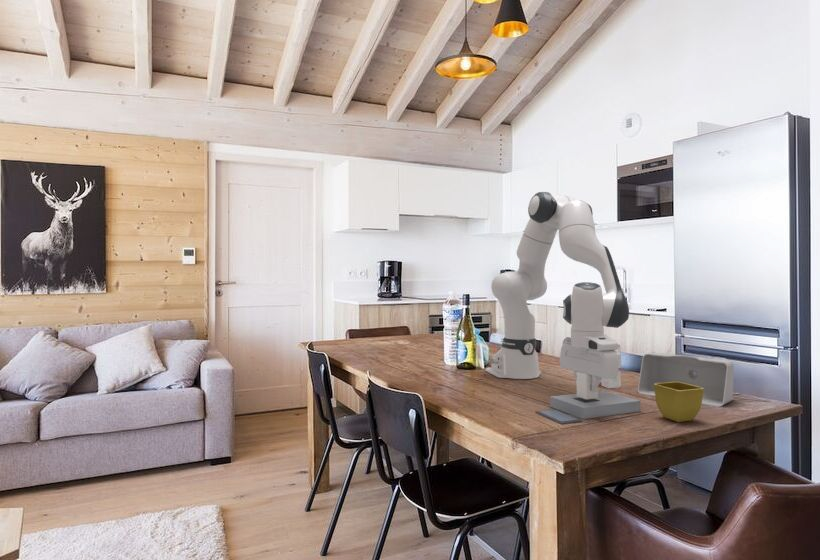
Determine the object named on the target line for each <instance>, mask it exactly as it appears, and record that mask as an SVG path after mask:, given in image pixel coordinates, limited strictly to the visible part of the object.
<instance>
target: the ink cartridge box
mask: <svg viewBox="0 0 820 560" xmlns="http://www.w3.org/2000/svg"><path fill="white" fill-rule="evenodd" d="M615 351H616V352H617V354H618V363H619V371H618V375H617V377H616V378H613V379H605V378H602V380H601V382H600V383H599V385H598V386H601V387H604V388H606V389H620V388H622V384H621V382H622V381H621V380H622V379H621V377H622V374H621V373H622V353H621V344H619V343H618V349H617V350H615Z"/></svg>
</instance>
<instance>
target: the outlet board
mask: <svg viewBox="0 0 820 560" xmlns="http://www.w3.org/2000/svg"><path fill="white" fill-rule="evenodd" d="M549 401H550V403H549V405H550V408H551V409H552V408H553V409H556V410H558V411H561V412H563V413H565V414H568V415H570V416H573V417H575V418H578V419H581V420H585V419H587V420H588V419H594V418H602V417H607V416H608V417H609V416H617V415H622V414H623V415H624V414H631V413H638V412H641V400H639V399H636V398H632V397H628V396H625V395H622V394H618V393H614V392H611V391H607V390H598V398H594V399H583V398H580V397H577V393H570V394H560V395H553V396H552V395H551V396H550V399H549Z"/></svg>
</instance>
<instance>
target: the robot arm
mask: <svg viewBox="0 0 820 560" xmlns="http://www.w3.org/2000/svg"><path fill="white" fill-rule="evenodd" d="M527 208H528V209H527V212H528V216H529V219H528V221H527V223H526V226H525V228H524V230H523V233H522V236H521V238H520V241H519V244H518V246H517V248H516V249H517V250H516V256H517V258H518V260H519V265H518V266H519V267H518V270H516V271H505V272H503V273H499V274H497V275H496V276H494V277H493V279H492V281H491V288H490V289H491V292H492V294H493V296H494V297H495V298H496V299H497V300H498V302H499V304H500V307H501V310H502V314H503V321H504V337H503V338H501V340H500V342H501V348H500V349H499V350H497V352H495V353H494V354H493V355H492V358H491V366H490V367H486V368H485V372H486V373H489V374H491V375H492V376H494V377H496V378H498V379H499V378H500V379H513V380H531V379H537V378H539V377H540V375H542V371H541V370H540V365H539V354H538V352H537V351H536V348H537V340H536V339H537V338H536V337H535V336H536V335H535V331H536V330H535V329H536V328H535V327H536V325H535V324H536V323H535V321H536V320H535V315H533V314H532V313H531V311H530V309H529V307H528V301H534V300H536V299H539V298H541V297H543V296H544V295H545V293H546V292H547V289H548V282H547V280H546V278H545V271H546V270H545V269H546V268H545V267H546V263H547V259H548V257H549V254H550V251H551V249H552V246H553V243H554V241H555V238H556V234H557V232H558V241H559V247H560V249H561V251H562V253H563V254H564V255H565V256H566V257H567V258H569V259H571V260H573V261H575V262H578V263H582V264H585V265H588V266H590V267H592V268H594V269H595V270H597V271H598V272H599V274H600V277H601V280H602V283H603V287H604V290H605V293H603V289H602V286H601V285H600V284H598V283H596V282H588V281H587V282H578V283H575V284H574V285H573V286H572V293H571V294H568V296H566V297H565V298H564V299H563V301H562V302H563V315H562V318H563V319H564V320H565V322H567V323H568V324H569V325H571V327H570V337H569V336H567V337H565V338H564V339H563V340H562V344H561V348H560V354H559V365H560V367H561V369H564V370H570V371H572V372H573V377H574V379H575V381H576V382H577V372H581V373H585V374H589V375H592V379H594V380H593V383H592V384H591V385H590V391H593V392H597V391H599V386H600V385H599V383H600V382H601V380H602V378H605V379H613V378H616V377H617V375H618V371H619V363H618V354H617V352H616V351H615V350H617V349H618V344H619V343H618V342H617V341H616V340H614V339H613V338H611V337H610V336H608V335H606V334H605V328H604V327H607V328H616V329H617V328H620V327H622V326H623V325H624V324H625V323H626V322H627V321H628V320H629V317H630V307H629V304H628V301H627V297H626V296H625V293H624V292H623V291H624V290H623V288H622V285H621V283H620V279H619V275H618V273H617V269H616V265H615V263H614V260H613V257H612V254H611V252H610V250H609V248H608V246H605V245H604V244H602V243H601V241H600V240H599V238H598V237H597V235H596V227H595V221H594V217H593V214H594V213H593V208H592V207H591V205H590V204H589V203H587V201H584V200H579V199H577V198H574V197H571V196H569V195H561V194H557V193H551V192H548V191H539V192H536V193H535V194H534V195H533V196H532V197H531V199H530V201H529V203H528V207H527Z"/></svg>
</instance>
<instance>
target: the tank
mask: <svg viewBox="0 0 820 560" xmlns="http://www.w3.org/2000/svg"><path fill="white" fill-rule="evenodd" d="M694 372H695V374H694ZM638 378H639V379H638V385H637V392H638V394H641V395H647V396H652V397H655V389H654V384H656V383H667V382H682V383H686V384H690V385H694V386H698V387H701V388H704V392H703V398H702V404H701V405H707V406H712V407H719V408H720V407H723V406H724V405H727V404H728V403H730V402H731V401H733V399H734V363H733V362H732V361H731V360H727V359H718V358H708V357H700V356H692V355H691V356H690V355H682V354H681V355H680V354H672V353H665V352H664V353H663V352H656V351H655V352H649V353H645V354H644V355H643V356H642V358H641V365H640V371H639V377H638Z"/></svg>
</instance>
